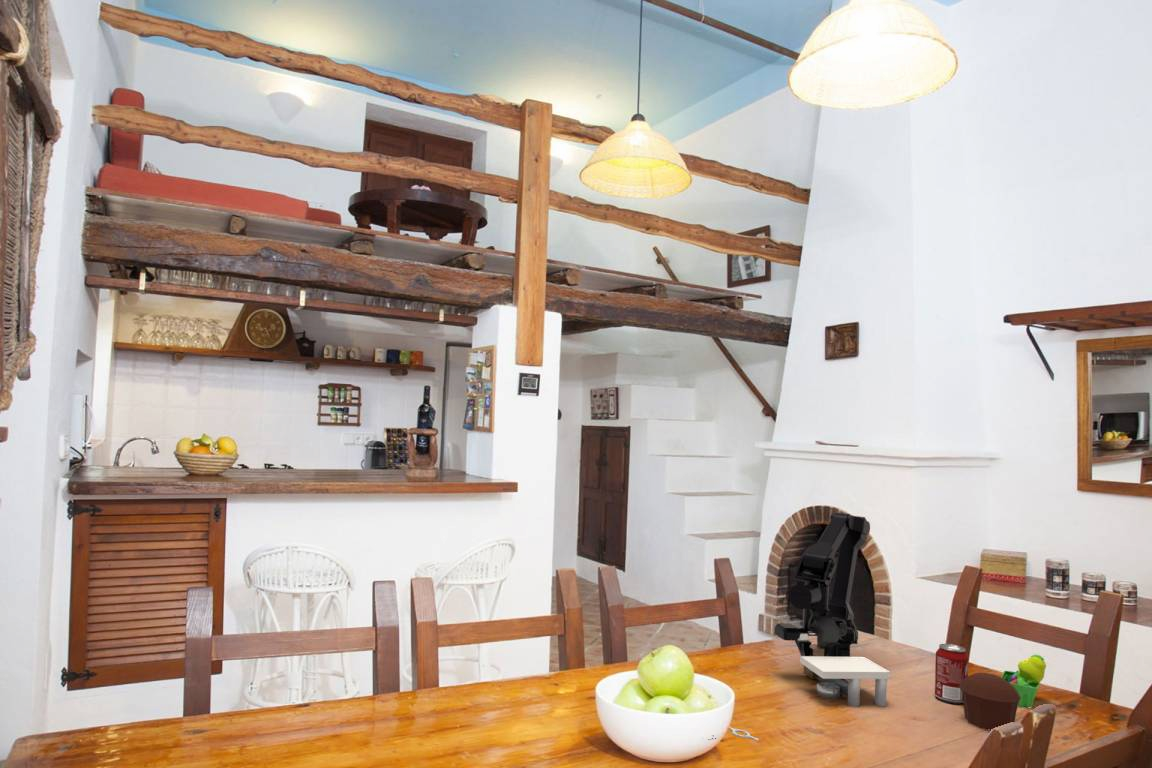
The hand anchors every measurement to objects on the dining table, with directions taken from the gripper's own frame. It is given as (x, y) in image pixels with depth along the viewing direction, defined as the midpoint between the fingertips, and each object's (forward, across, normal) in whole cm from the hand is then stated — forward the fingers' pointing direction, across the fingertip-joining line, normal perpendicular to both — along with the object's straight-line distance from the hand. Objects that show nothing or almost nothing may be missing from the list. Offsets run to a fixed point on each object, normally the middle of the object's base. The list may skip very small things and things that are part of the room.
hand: (813, 667), depth 187 cm
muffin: (+3, +25, -29) cm, 39 cm away
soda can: (+3, +26, -15) cm, 31 cm away
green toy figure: (+3, +44, -16) cm, 47 cm away
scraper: (+2, +1, -7) cm, 7 cm away
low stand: (+2, 0, -13) cm, 14 cm away
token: (+2, -2, -12) cm, 12 cm away
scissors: (+3, -36, -27) cm, 45 cm away
